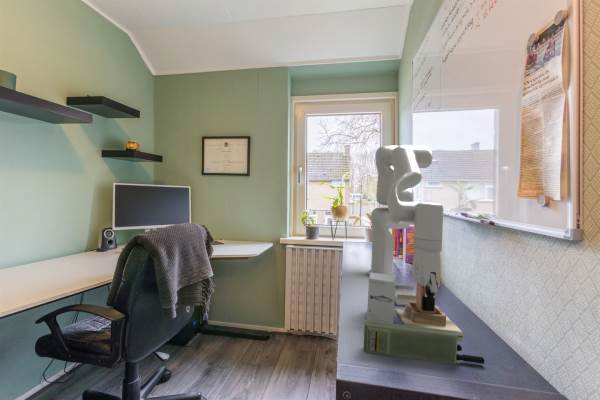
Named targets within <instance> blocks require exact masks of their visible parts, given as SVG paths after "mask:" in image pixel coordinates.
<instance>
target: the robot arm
mask: <svg viewBox="0 0 600 400" xmlns="http://www.w3.org/2000/svg"><path fill="white" fill-rule="evenodd" d="M374 156H375V157H374V159H375V166H376V170H377V182H376V183H377V184H376V195H375V196H376V202H377V203H378V205H383V206H387V207H377V208H374V209H373V210H372V211H371V214H370V219H371V230H372V232H371V233H372V235H371V236H372V238H371V239H372V240H371V241H372V242H371V262H370V263H371V265H370V267H371V268H370V270H368V271H367V275H368V276H369V277H370V273H371V272H372V273H379V274H386V275H394V276H396V277H397V275H396V273H395V272H394V271H393V269H394V247H395V246H394V245H395V243H394V242H395V241H394V240H395V238H394V236H393V234H392V233H391V232H390V230H389V229H393V230H394V229H395V230H397V229H398V230H405V229H408V228H409V227H410V226H413V242H412V243H413V247H412V248H413V250H414V251H413V254H412V255H413V256H412V267H411V268H412V269H411V278H412V279H413V280H414V281H415V282H416V284H417V283H418V284H419V285H421V286H423V289H424V296H422V310H423V311H434V305H436V299H435V294H436V295H437V293H438V292H439V291H438V288H439V287H440V284H441V283H440V282H441V257H440V256H441V255H440V253H442V251H443V232H444V231H443V227H444V206H443V205H442V204H441V203H439V202H427V201H415V200H414V198H415V196H414V190H413V188H415V187H416V186H418V185H419V184H420V183H421V181H422V179H423V177H422V172H421V169H426V168H429V167H430V165H432V162H433V158H434V157H433V152H432V150H431V148H429V146H426V145H416V144H415V145H412V144H402V145H401V144H400V145H382V146H379V147H378V148H377V149H376V151H375V155H374ZM427 284H430V286H429V285H427ZM427 288H430V289H428V291H427Z"/></svg>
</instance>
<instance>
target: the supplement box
mask: <svg viewBox="0 0 600 400" xmlns="http://www.w3.org/2000/svg"><path fill="white" fill-rule="evenodd" d="M396 278H397V275H396V276H394V275H386V274H379V273H372V272H371V273H370V276H369V277H368V289H367V290H368V293H367V310H366V311H367V312H366V313H367V314H366V321H372V322H381V323H390V324H395V323H394V322H395V284H397V283H396Z"/></svg>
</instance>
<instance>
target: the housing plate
mask: <svg viewBox="0 0 600 400" xmlns="http://www.w3.org/2000/svg"><path fill="white" fill-rule="evenodd" d="M406 302H416V291H415V289H414V285H412V284H400V283H399V284H398V283H395V301H394V304H395V305H396V306H403V307H405V303H406Z"/></svg>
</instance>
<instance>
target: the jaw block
mask: <svg viewBox="0 0 600 400" xmlns="http://www.w3.org/2000/svg"><path fill="white" fill-rule="evenodd" d="M427 285H429V286H430V284H427ZM428 289H430V288H427V291H428ZM415 290H416V291H415V292H416V307H417V308H418V310H419V311H420V312H430V313H435V305H436V304H435V305H434V311H423V310H422V296H424V289H423V286H421V285H419V284H418V283H417V282H416V289H415ZM436 295H437V293H436V294H435V300H437V299H436Z"/></svg>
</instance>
